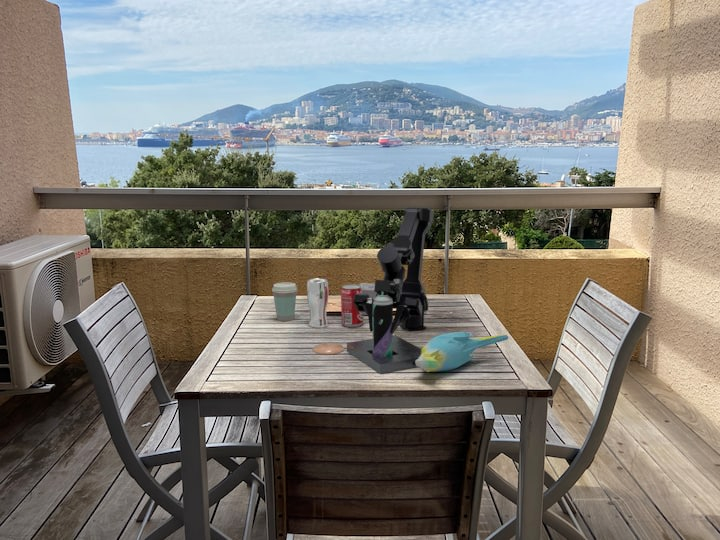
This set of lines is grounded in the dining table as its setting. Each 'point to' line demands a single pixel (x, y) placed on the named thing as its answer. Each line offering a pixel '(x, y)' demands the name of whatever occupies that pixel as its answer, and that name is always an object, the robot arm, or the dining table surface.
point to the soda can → (350, 306)
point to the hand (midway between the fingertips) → (381, 332)
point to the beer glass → (317, 301)
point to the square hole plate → (398, 361)
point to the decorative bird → (451, 350)
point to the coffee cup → (285, 300)
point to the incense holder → (368, 290)
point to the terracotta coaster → (328, 348)
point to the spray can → (382, 325)
